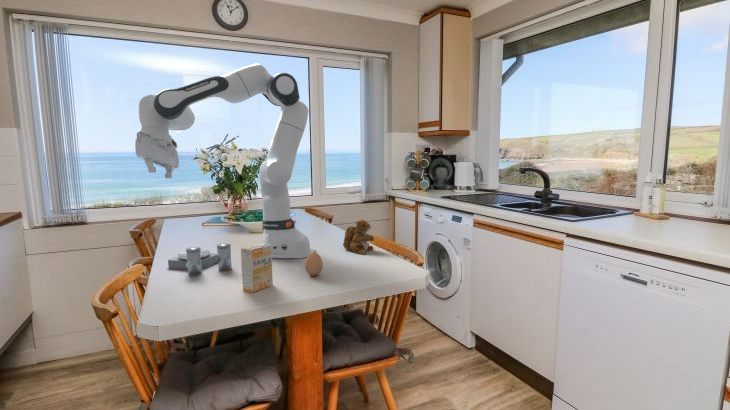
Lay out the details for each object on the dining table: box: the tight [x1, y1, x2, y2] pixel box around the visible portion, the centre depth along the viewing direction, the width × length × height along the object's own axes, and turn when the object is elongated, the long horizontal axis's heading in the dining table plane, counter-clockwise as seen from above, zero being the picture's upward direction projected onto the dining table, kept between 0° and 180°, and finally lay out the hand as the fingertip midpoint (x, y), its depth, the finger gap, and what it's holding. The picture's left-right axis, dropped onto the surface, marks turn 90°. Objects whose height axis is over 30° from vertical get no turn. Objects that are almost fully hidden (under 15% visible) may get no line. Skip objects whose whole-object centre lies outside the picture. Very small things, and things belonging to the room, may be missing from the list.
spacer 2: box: [216, 242, 233, 272], centre depth 136 cm, size 5×5×9 cm
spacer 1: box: [185, 246, 203, 277], centre depth 131 cm, size 5×5×9 cm
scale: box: [167, 252, 218, 271], centre depth 143 cm, size 13×13×3 cm
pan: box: [177, 249, 211, 260], centre depth 143 cm, size 11×11×1 cm
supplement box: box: [240, 242, 274, 293], centre depth 116 cm, size 8×5×13 cm, turn 148°
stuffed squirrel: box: [342, 219, 375, 255], centre depth 160 cm, size 10×14×13 cm
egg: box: [304, 252, 324, 277], centre depth 128 cm, size 6×6×8 cm
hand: (160, 175), depth 136 cm, fingers open, 8 cm apart
